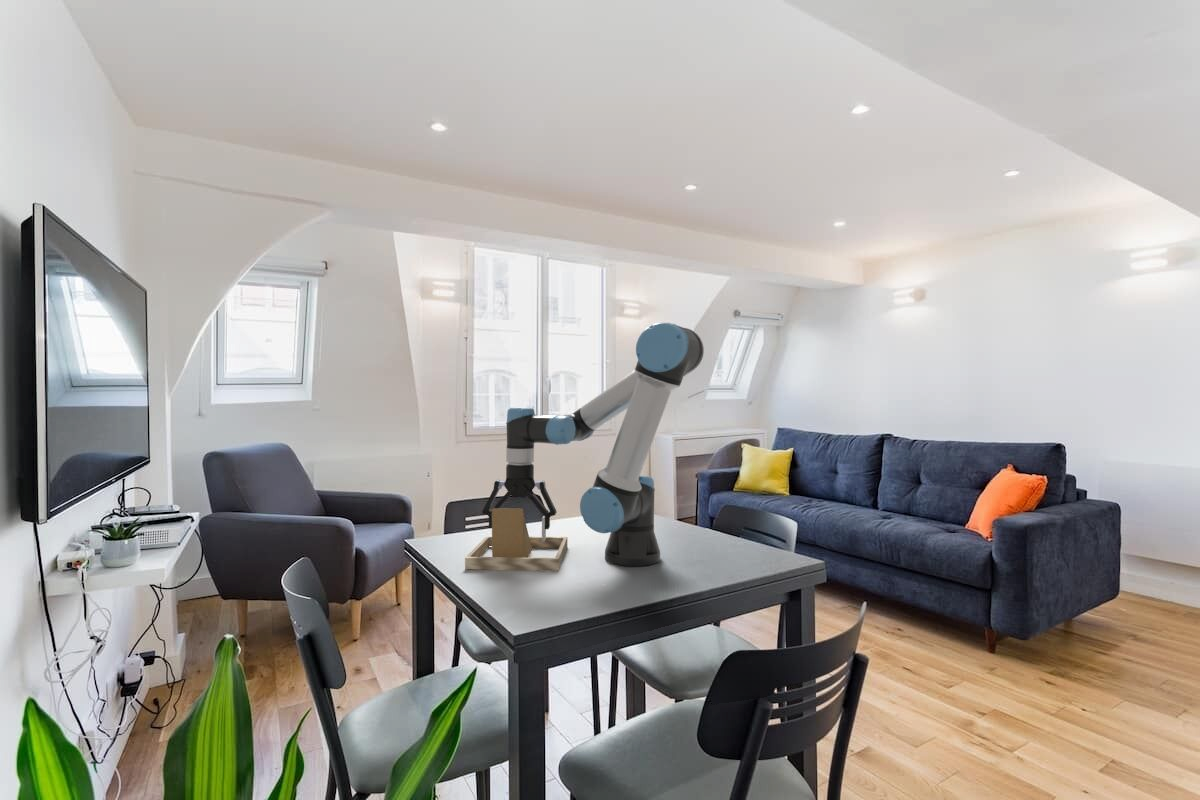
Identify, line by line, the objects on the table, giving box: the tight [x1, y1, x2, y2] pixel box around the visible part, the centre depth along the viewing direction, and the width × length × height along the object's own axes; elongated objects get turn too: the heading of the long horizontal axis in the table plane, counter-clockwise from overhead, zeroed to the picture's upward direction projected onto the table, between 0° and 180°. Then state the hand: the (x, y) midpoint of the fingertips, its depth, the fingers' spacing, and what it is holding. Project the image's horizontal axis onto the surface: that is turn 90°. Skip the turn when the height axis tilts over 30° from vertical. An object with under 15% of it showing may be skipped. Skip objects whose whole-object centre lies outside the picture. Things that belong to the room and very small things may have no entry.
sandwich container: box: [491, 507, 533, 558], centre depth 164 cm, size 9×15×15 cm, turn 176°
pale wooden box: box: [464, 535, 568, 571], centre depth 163 cm, size 24×24×3 cm
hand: (519, 540), depth 163 cm, fingers open, 13 cm apart
